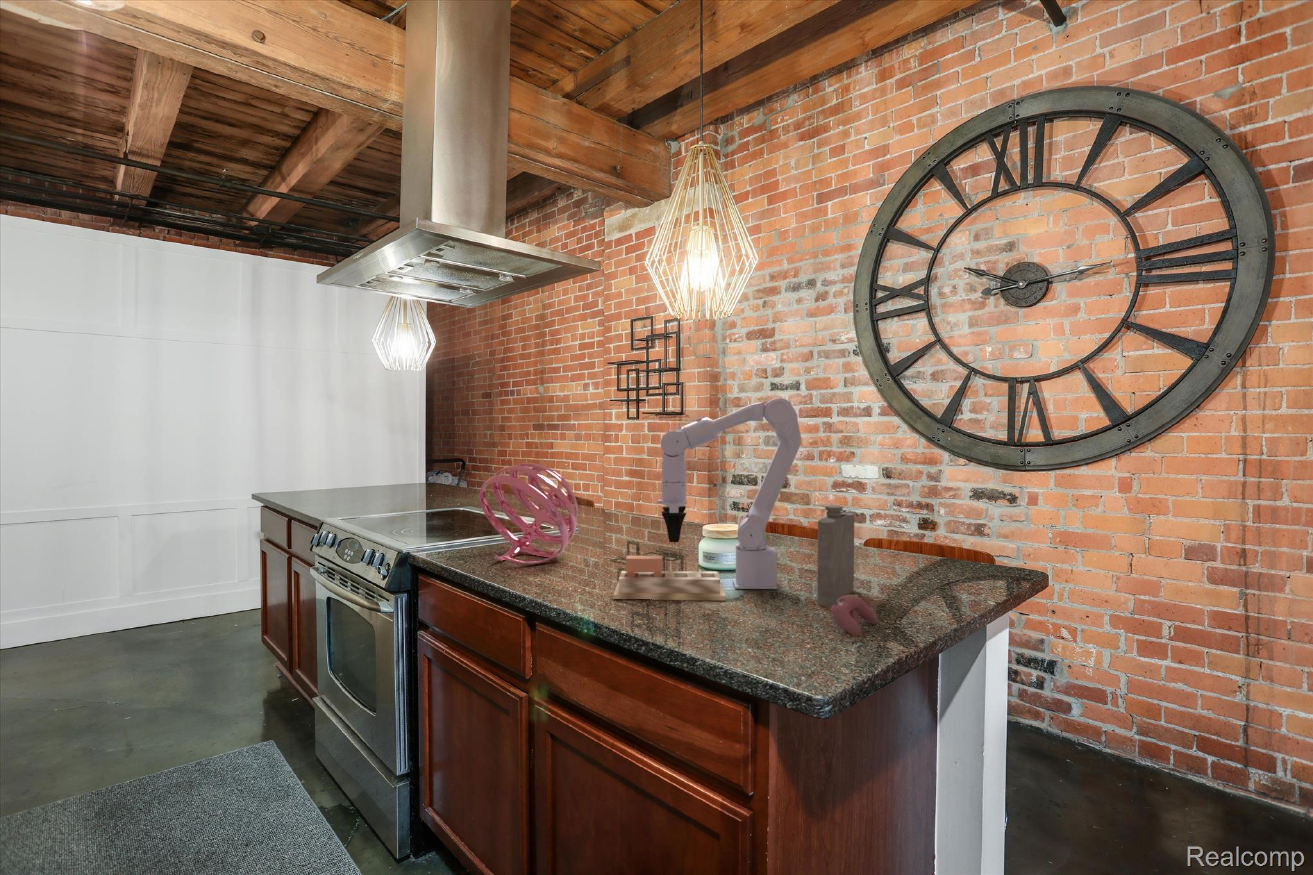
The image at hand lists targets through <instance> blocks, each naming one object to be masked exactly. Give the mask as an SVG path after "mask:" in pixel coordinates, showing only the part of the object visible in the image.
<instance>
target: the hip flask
mask: <svg viewBox="0 0 1313 875" xmlns="http://www.w3.org/2000/svg"><path fill="white" fill-rule="evenodd" d="M824 510H826V513H825V514H826V516H824V517H821V519H819V520H817V588H816V589H817V593H816V594H817V596H816V597H817V600H816V601H817V602H816V603H817V605H818V606H820V607H821V606H822V607H832V605H833V604H835V602H836V600H837V599H838V598H839V597H841V596H844V595H850V594H851V593H854V590H855V588H854V587H855V586H854V584H855V581H854V580H855V513H853V512H852V513H851V512H842V511H843V506H841V505H836V504H835V505H831V504H829V505H825V508H824Z"/></svg>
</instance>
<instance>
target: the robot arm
mask: <svg viewBox="0 0 1313 875" xmlns="http://www.w3.org/2000/svg"><path fill="white" fill-rule="evenodd" d="M764 419H765V421H767V423H768V424H769V425H770V426H771V427H772V428H773V430H774V433H775V434H776V437H777V439H778V442H779V443H778V444H777V448H776V450H775V452H774V454H773V457H772V459H771V461H770V463H769V466H768V468H767V470H766V472H765V474H764V477H763V479H762V482H761V484H760V487H759V489H758V490H757V493H756V495H755V497H754V500H753V502H752V504H751V506H750V508H749V510H748V512H747V514H746V515H745V516H744V517H743V518H741V520H740V521H739V523H738V526H737V534H736V535H737V540H738V542H737V543H735V577H733V578H732V582H733V585H734V588H735V589H738V590H777V589H778V556H777V549H776V548H775V547H768V544H767V543H766V542H765V541H766V536H767V534H766V528H767V525H768V523H769V520H770V516H771V513H772V512H773V509H774V506H775V505H776V502H777V500H778V497H779V495H780V493H781V490H782V488H783V486H784V483H785V482H786V479H787V477H788V475H789V472H790V470H791V468H792V465H793V463H794V461H795V459H796V456H797V454H798V452H799V450H800V446H802V445H801V444H802V436H801V432H800V431H801V430H800V425H799V421H798V414H797V412H796V410H795V408H794V407H793V405H792V403H791V402H790V401H789V400H788V399H786V398H784V397H775V398H773V399H770V400H769V401H767V400H764V401H760V402H756V403H752V404H748V405H747V406H744V407H741V408H739V409H737V410H735V411H732V412H731V413H727V414H726V415H724V416H721V417H719V418H716V419H711V418H709V417H704V418H702V416H699V417H697V418H695V420H696V421H693V422H691V423H688V424H686V425H684V426H682V425H678V426H677V427H676V428H677V430H674V429H673V430H669V431H668V432H666V433H665V434H664V435H663V436H662V438H661V440H660V447H661V450H662V454H661V455H662V457H661V458H662V462H661V499H657V500H656V504H661V505H664V506H662V510H661V516H662V518H663V520H664V523H665V526H666V529H667V530H666V531H667V537H668V541H669V543H679V542H680V538H681V531H682V526H683V522H684V520H685V518H686V516H687V512H685V511H686V509H687V507H686V505H687V504H688V500H687V462H686V450H687V449H688V450H693V449H696V448H698V447H701V446H703V445H705V444H708V443H711V442H713V441H716V439H717V437H718V434H719V433H721V432H723V431H726V430H729V429H732V428H734V427H737V426H740V425H742V424H745V423H748V422H761V423H763V422H764Z"/></svg>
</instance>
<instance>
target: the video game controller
mask: <svg viewBox="0 0 1313 875" xmlns="http://www.w3.org/2000/svg"><path fill="white" fill-rule="evenodd" d="M831 614H832V617H833V619H834V620H835V621H836V622H837V623H838V624H839V626H841V627H842V629H843V630H844V631H846V632H847V633H849V634H850V635H852V636H854V637H859V636H861V634H862V628H861V627H860V625H859V624H860V623H861V622H860V621H861V620H860V618H861V619H862V620H864V621H865V622H866V623H868V624H871V625H876V624H878V623H879V622H878V621H879V619H878V618H879V617H878V615H877V614H876V612H874V609H871V607H870V606H868V605H867V604H866V602H864V600H863V598H861V597H860V596H858V594H854V595H853V594H846V595H844V596H841V597H839V598H838V599H837V600H836V601H835V603H834V604H833V605H832V606H831Z"/></svg>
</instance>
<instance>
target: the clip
mask: <svg viewBox="0 0 1313 875" xmlns="http://www.w3.org/2000/svg"><path fill="white" fill-rule="evenodd" d="M625 571H626V572H627V577H635V572H654V577H662V571H663V555H626V558H625Z"/></svg>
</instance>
